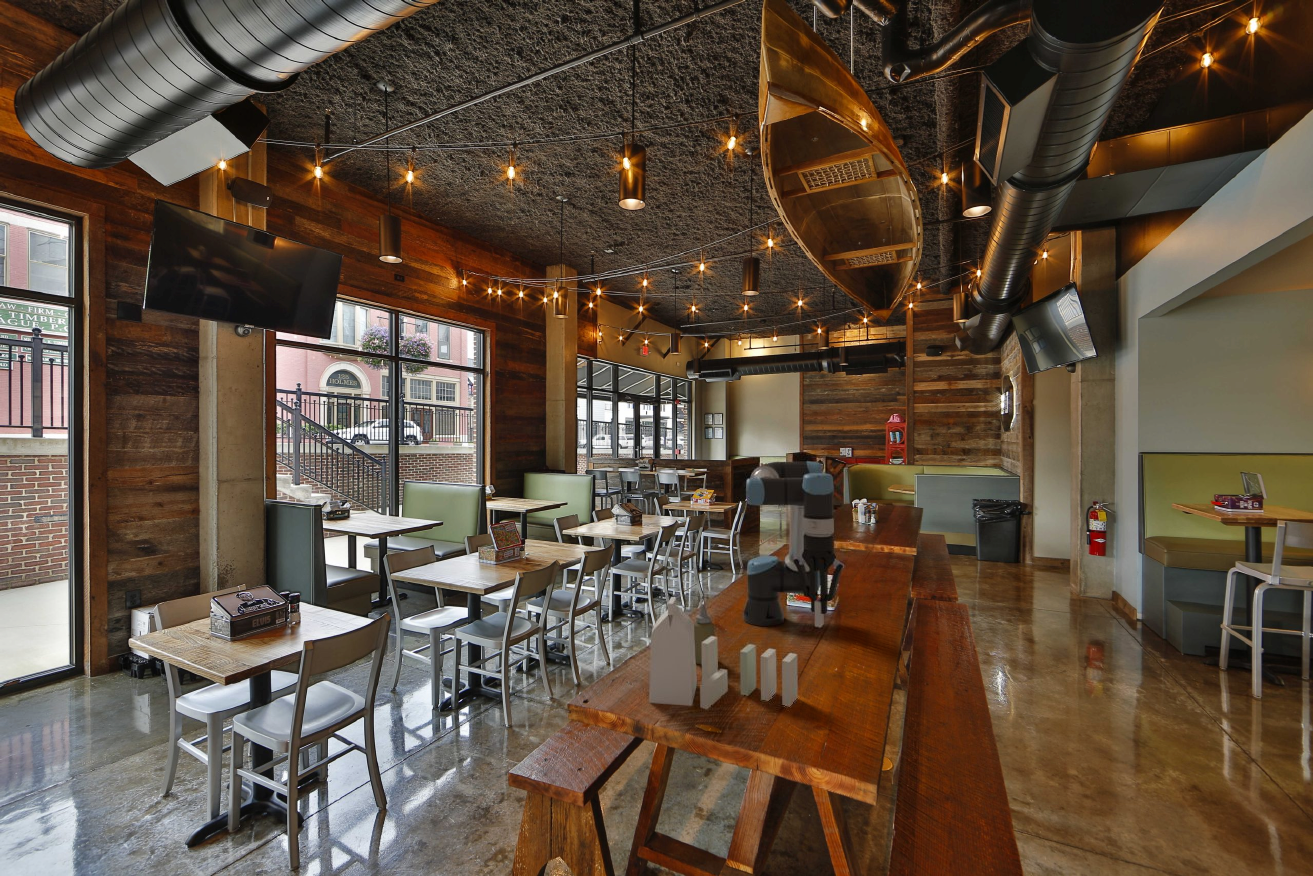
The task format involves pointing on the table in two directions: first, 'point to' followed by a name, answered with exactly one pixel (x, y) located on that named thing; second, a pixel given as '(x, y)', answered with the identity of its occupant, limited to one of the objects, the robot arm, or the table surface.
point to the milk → (673, 658)
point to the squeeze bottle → (702, 632)
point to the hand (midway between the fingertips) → (819, 625)
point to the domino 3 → (748, 669)
